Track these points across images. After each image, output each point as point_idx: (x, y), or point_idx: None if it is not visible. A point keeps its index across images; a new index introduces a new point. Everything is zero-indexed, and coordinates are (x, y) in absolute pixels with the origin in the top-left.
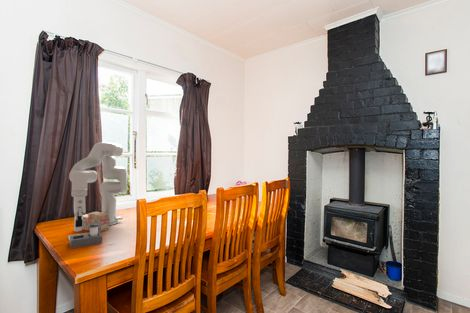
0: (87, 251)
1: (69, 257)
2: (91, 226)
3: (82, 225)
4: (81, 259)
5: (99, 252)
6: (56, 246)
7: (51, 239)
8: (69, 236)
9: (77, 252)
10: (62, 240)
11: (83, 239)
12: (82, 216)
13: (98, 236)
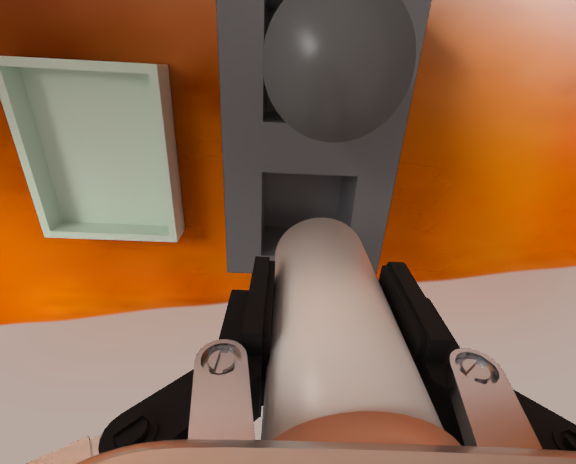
0: (451, 143)
1: (469, 253)
2: (382, 118)
3: (346, 250)
4: (567, 201)
5: (551, 63)
6: (209, 294)
7: (37, 308)
8: (53, 225)
9: (417, 205)
10: (87, 258)
11: (392, 185)
12: (407, 378)
13: (425, 25)
